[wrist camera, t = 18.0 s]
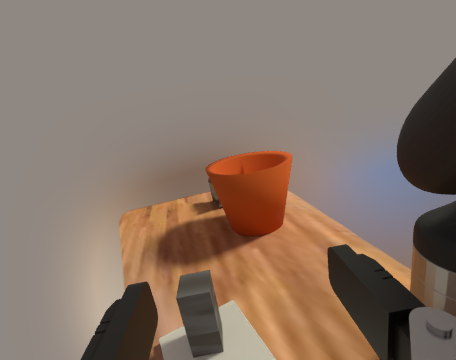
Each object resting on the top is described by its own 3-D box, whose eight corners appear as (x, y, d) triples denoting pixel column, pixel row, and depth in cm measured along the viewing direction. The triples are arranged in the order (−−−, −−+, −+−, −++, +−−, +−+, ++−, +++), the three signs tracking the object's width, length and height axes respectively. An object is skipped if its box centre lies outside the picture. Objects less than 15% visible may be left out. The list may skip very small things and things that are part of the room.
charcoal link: (195, 330, 40) (180, 275, 37) (222, 325, 40) (209, 270, 37) (193, 357, 35) (176, 298, 32) (223, 351, 35) (209, 291, 32)
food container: (236, 205, 90) (232, 180, 87) (221, 210, 88) (216, 184, 85) (225, 196, 101) (221, 174, 98) (212, 200, 100) (207, 177, 97)
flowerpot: (214, 214, 85) (203, 161, 80) (280, 200, 88) (274, 147, 82) (223, 253, 61) (208, 181, 56) (314, 232, 64) (308, 161, 58)
